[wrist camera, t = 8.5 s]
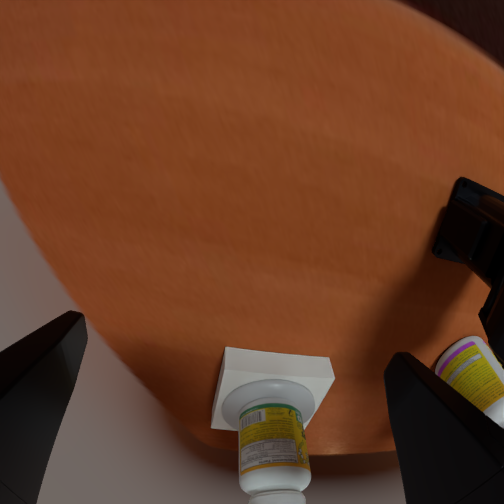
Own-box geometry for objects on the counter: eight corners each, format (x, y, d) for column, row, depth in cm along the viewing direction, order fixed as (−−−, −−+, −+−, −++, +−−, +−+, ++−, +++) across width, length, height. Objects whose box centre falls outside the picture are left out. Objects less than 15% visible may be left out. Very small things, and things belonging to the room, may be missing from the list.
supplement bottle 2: (422, 377, 29) (467, 473, 18) (455, 330, 26) (518, 427, 15) (459, 377, 30) (503, 458, 18) (490, 334, 27) (547, 416, 16)
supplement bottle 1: (242, 393, 23) (244, 504, 15) (308, 395, 24) (327, 501, 15) (234, 426, 26) (235, 521, 17) (292, 428, 26) (304, 519, 18)
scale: (327, 353, 27) (336, 383, 24) (295, 414, 31) (300, 441, 28) (225, 342, 26) (224, 374, 22) (211, 407, 30) (210, 436, 27)
